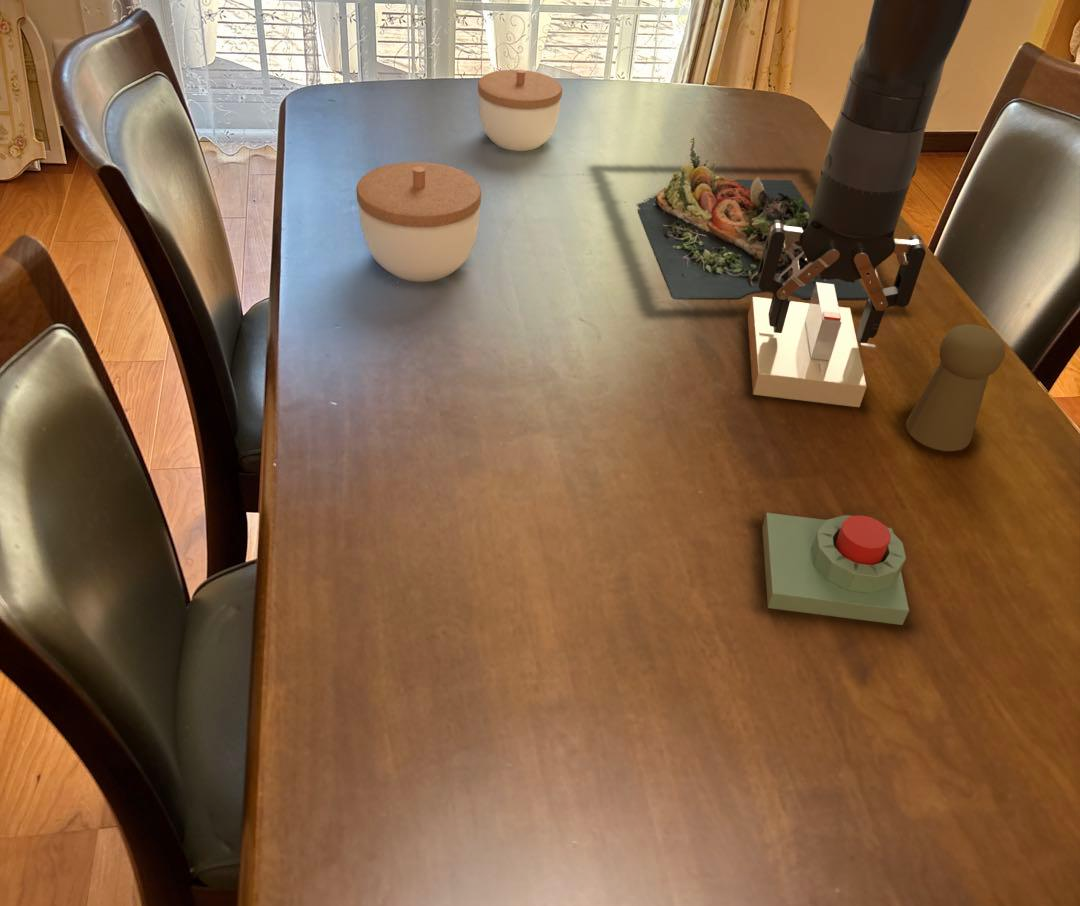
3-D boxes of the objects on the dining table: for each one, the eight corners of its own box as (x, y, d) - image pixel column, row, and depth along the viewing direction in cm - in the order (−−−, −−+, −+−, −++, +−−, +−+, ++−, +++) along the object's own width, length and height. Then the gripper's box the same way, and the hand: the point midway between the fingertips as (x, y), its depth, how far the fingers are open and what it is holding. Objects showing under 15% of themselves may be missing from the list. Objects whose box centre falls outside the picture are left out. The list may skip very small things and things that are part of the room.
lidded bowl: (338, 259, 110) (331, 159, 103) (435, 230, 116) (435, 134, 109) (403, 311, 103) (400, 208, 96) (502, 278, 110) (507, 178, 102)
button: (880, 535, 78) (887, 518, 77) (886, 568, 76) (894, 551, 74) (833, 529, 78) (839, 512, 77) (838, 561, 76) (844, 545, 74)
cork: (962, 420, 96) (1007, 318, 89) (975, 460, 92) (1024, 357, 84) (897, 413, 96) (937, 311, 89) (908, 453, 92) (950, 349, 84)
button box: (884, 547, 83) (899, 511, 80) (900, 630, 76) (917, 593, 73) (760, 532, 83) (771, 495, 80) (765, 613, 76) (778, 576, 74)
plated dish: (591, 173, 130) (598, 116, 125) (799, 177, 135) (814, 121, 129) (650, 324, 105) (662, 260, 100) (903, 323, 110) (927, 261, 105)
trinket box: (512, 169, 130) (516, 93, 123) (460, 139, 135) (460, 65, 128) (574, 149, 135) (580, 76, 129) (521, 122, 140) (525, 50, 134)
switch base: (857, 334, 106) (866, 308, 104) (874, 414, 96) (885, 387, 94) (746, 321, 106) (752, 294, 104) (751, 399, 96) (758, 371, 94)
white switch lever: (805, 319, 102) (816, 279, 99) (823, 321, 102) (835, 281, 99) (810, 358, 97) (822, 317, 94) (829, 360, 97) (842, 319, 93)
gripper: (944, 160, 90) (887, 322, 101) (781, 142, 90) (743, 305, 102) (959, 197, 84) (898, 364, 96) (786, 178, 85) (746, 346, 96)
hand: (818, 333), depth 99 cm, fingers open, 7 cm apart
